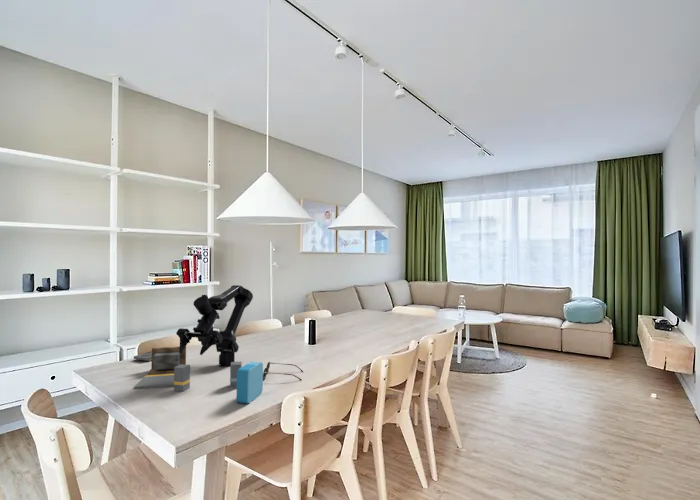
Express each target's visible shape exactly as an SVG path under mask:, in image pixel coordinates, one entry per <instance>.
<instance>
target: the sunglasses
mask: <svg viewBox="0 0 700 500" xmlns="http://www.w3.org/2000/svg"><path fill="white" fill-rule="evenodd" d="M276 364H277V365H285V366H295V367H296V368H297V369H298V370H300V371H301V373H304V371H303V370H302V369H301V368H300V367H299V366H298V365H295V364H290V363H282V362H281V363H278V362H271V361H268V362H267V364H266V367H265V368H263V381H265V380H266V378H267V376H268V374H275V375H285V376H293V377H295V378H296V379H298V380H299V381H303V379H302V378H300V377H299V376H297V375H295V374H292V373H281V372H270V371H269V369H270V365H276Z"/></svg>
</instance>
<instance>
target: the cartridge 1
mask: <svg viewBox="0 0 700 500" xmlns="http://www.w3.org/2000/svg"><path fill="white" fill-rule="evenodd" d="M173 374H174V386H173V391H175V392H183V393H184V392H185V391H187V390H189V389H190V388H191V364H186V365H185V364H181V365H178V366H176V367H174V373H173Z"/></svg>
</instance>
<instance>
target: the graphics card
mask: <svg viewBox="0 0 700 500" xmlns="http://www.w3.org/2000/svg"><path fill="white" fill-rule="evenodd" d="M133 360H137V361H145V362H152V361H151V360H152V350H151V351H148V352H143V353H140V354H137V355H134V356H133Z"/></svg>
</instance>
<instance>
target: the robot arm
mask: <svg viewBox="0 0 700 500" xmlns="http://www.w3.org/2000/svg"><path fill="white" fill-rule="evenodd" d="M253 299H254V295H253V293H252V291H250V290H249V289H248V288H245V287H243V286H242V285H237V284H235V285H231V286H230V287H229V288H228V289H226V290H225V291H224V292H222V293H221V294H217V295H213V296H212V295H211V296H210V297H209V296H208V295H207V294H202V295H201V296H199V297H197V298H196V299H195V300H194V301H193V306H194V308H195V309H196V310H197V312H198V314H199V315H201V318H200V319H199V318H198V319H197V325H196V327H193V329H192V330H193V331H190V329H188V328H183V327H182V328H178V329H177V331H176V332H175V334H176V335H177V337H178V338H179V347H180V349H179V352H180V354H181V353H182V352H183V350H184V349H185V347H186V348H187V345H188V344H190V342H191V340H192V338H196V339H197V341H198V342H200V343H201V345H202V346H201V348H200V351H199V355H200V356H203V354H205V353H206V351H208V349H210V348H211V347H212V346H215V348H216V352H217V353H219V355H218V365H219V367H230V365H231V362H236V361H235V360H236V358H235V357H236V355H235V354H236V353H238V351H239V349H240V348H239V347H240V346H239V343H237V342H236V341H237V337H236V332H237V330H238V327H239V324H240V321H241V319H242V316H243V314H244V311H245V309H246V308H247V307H248V306H249V305H250V304H251V302H252V300H253ZM231 300H233V301H234V303H235V305H234V307H233V309H232V312H231V314H230V317H229V320H228V321H227V324H226V327H225V329H224V330H220V331H219V330H214V324H215V321H216V320H219V319H220V318H221V317H220V315H219V312H218V311H223V310H225V309H226V307H227V306H228V302H230V301H231Z"/></svg>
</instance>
